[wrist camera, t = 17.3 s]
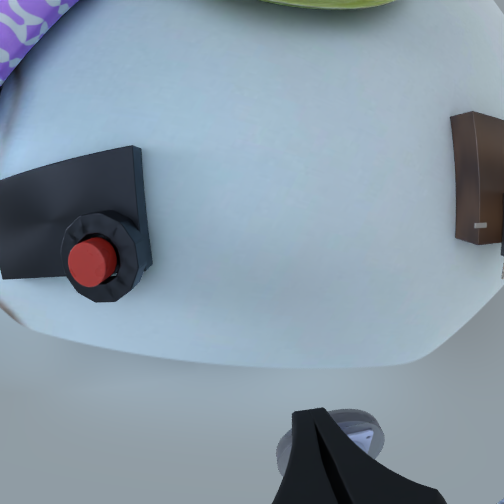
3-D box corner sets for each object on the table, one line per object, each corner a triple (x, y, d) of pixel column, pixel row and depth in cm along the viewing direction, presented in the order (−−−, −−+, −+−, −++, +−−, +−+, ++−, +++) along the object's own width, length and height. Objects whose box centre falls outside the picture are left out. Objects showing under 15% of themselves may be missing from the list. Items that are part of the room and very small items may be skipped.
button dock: (144, 147, 18) (125, 140, 15) (159, 282, 20) (144, 301, 17) (1, 183, 18) (-26, 185, 14) (17, 288, 20) (-7, 302, 17)
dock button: (114, 234, 16) (101, 240, 15) (120, 277, 17) (109, 286, 15) (78, 239, 16) (64, 244, 14) (85, 279, 17) (72, 288, 15)
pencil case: (100, -58, 13) (68, -107, 3) (151, -36, 14) (121, -104, 5) (-41, 105, 16) (-101, 97, 6) (-16, 154, 17) (-91, 154, 8)
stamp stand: (508, 264, 21) (529, 272, 18) (447, 275, 21) (469, 286, 18) (508, 131, 18) (530, 128, 15) (444, 115, 18) (468, 109, 15)
